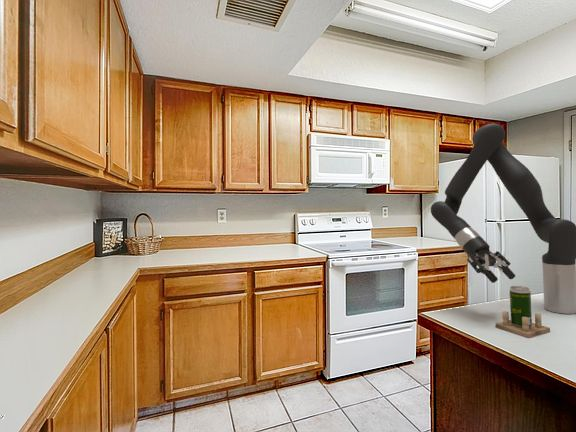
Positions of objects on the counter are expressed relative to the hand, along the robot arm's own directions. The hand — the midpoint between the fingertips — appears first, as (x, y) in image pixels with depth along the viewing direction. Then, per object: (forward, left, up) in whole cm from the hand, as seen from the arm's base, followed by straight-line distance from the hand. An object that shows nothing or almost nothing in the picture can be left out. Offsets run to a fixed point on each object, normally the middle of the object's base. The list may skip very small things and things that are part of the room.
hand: (504, 279), depth 104 cm
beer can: (0, +5, -14) cm, 15 cm away
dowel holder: (0, +5, -15) cm, 16 cm away
